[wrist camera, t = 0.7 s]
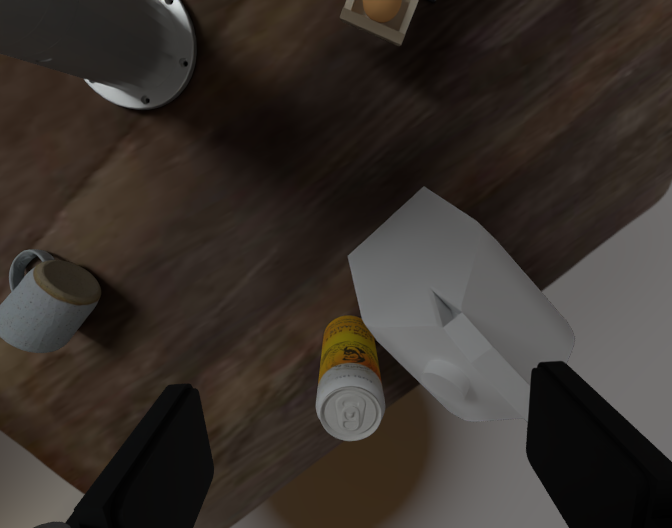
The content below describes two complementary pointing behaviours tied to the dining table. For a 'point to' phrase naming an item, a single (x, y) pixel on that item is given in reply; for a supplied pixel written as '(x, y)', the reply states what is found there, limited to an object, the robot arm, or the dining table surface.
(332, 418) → the beer can
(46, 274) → the ceramic mug
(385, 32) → the lever
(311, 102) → the dining table surface
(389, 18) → the ball
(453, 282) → the milk
